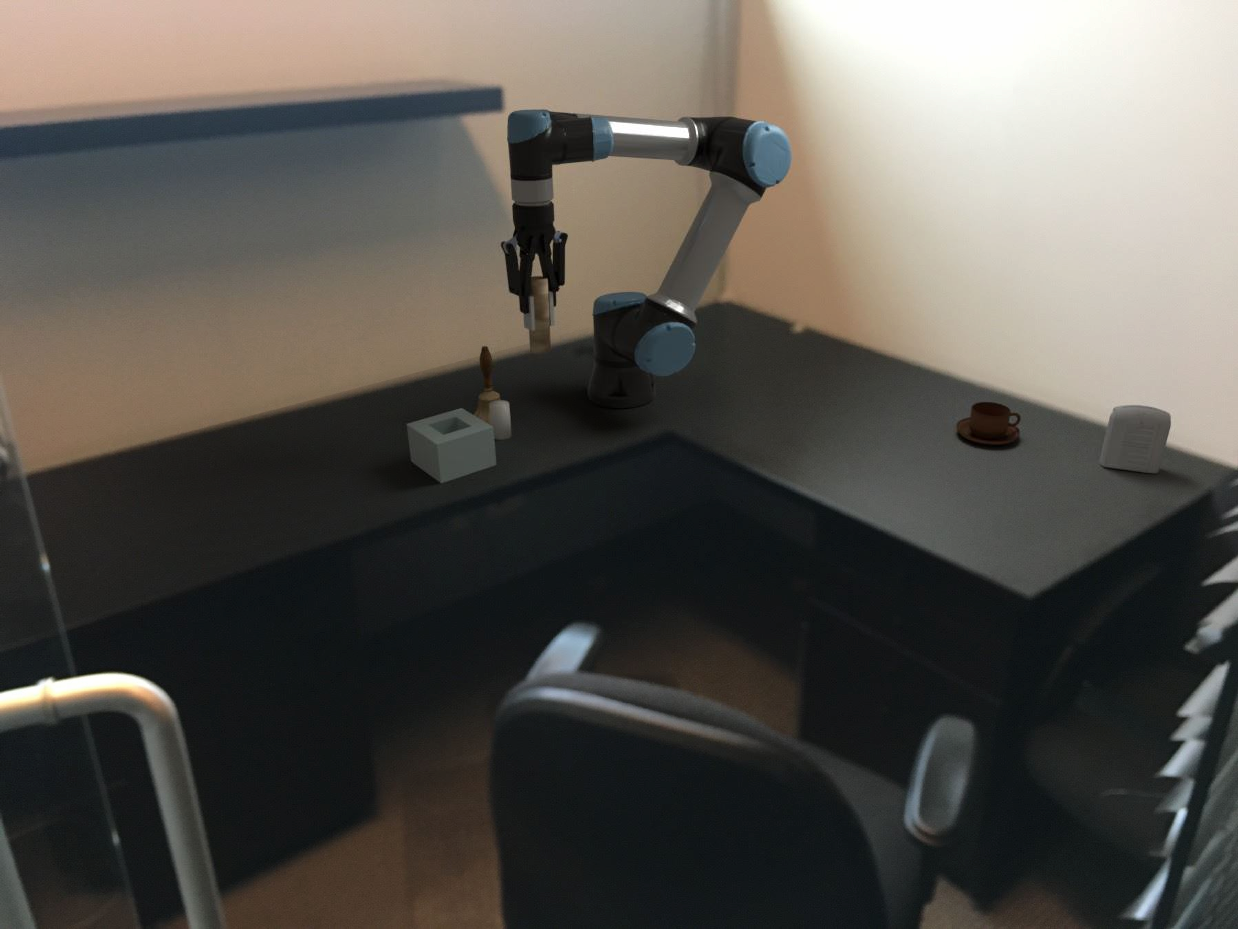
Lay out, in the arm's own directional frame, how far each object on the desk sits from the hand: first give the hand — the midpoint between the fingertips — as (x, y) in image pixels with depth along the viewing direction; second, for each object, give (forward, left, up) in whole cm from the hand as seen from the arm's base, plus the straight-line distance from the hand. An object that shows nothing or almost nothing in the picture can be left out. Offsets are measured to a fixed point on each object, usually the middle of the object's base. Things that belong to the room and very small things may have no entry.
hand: (539, 326), depth 189 cm
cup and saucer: (-70, +54, -25) cm, 92 cm away
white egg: (+5, -9, -25) cm, 27 cm away
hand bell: (+2, -18, -25) cm, 31 cm away
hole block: (+19, -4, -25) cm, 31 cm away
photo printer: (-78, +79, -25) cm, 114 cm away
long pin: (0, 0, -5) cm, 5 cm away
